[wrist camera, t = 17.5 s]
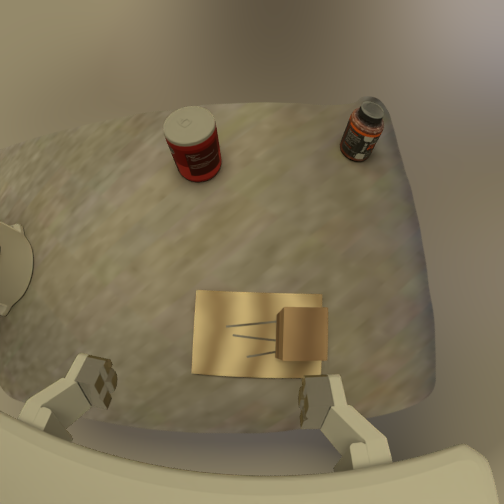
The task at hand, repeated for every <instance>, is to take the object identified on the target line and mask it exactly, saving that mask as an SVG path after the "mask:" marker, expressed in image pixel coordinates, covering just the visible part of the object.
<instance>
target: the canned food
mask: <svg viewBox="0 0 504 504" xmlns="http://www.w3.org/2000/svg"><path fill="white" fill-rule="evenodd" d="M163 131H164V135H165V138H166V141H167V144H168V146H169V149H170V151H171V154H172V156H173V158H174V161H175V163H176V166H177V168H178V171H179V172H180V174H181V175H182V176H184V177H185V178H186V179H188V180H190V181H195V182H202V181H206V180H208V179H210V178H212V177H213V176H215V175H216V174H217V172H218V171H219V169H220V166H221V153H220V147H219V140H218V134H217V127H216V122H215V119H214V116H213V115H212V113H211V112H210V111H208V110H207V109H205V108H202V107H198V106H189V107H184V108H181V109H178V110H176V111H174V112H173V113H172V114H170V115H169V116H168V117H167V119H166V120H165V122H164V125H163Z"/></svg>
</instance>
